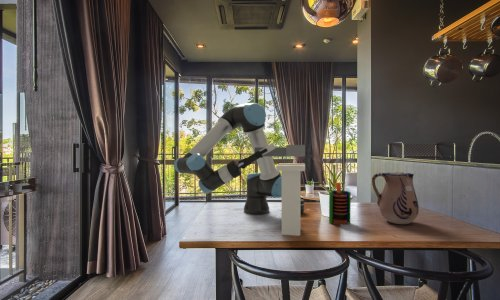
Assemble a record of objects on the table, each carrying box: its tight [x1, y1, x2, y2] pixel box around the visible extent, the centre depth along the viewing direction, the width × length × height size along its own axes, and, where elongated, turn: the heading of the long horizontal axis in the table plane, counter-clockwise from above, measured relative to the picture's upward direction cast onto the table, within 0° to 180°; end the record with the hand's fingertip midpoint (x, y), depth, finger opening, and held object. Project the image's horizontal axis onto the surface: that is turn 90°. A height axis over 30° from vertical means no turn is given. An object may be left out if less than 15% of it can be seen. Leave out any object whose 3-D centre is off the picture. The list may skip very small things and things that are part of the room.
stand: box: [275, 162, 306, 237], centre depth 129 cm, size 17×12×30 cm
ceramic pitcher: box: [371, 171, 420, 225], centre depth 145 cm, size 18×21×25 cm
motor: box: [328, 182, 352, 226], centre depth 145 cm, size 10×9×20 cm
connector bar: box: [255, 144, 306, 158], centre depth 127 cm, size 6×22×5 cm, turn 80°
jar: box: [301, 198, 305, 215], centre depth 167 cm, size 10×10×8 cm
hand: (274, 145), depth 128 cm, fingers closed on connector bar, 4 cm apart
